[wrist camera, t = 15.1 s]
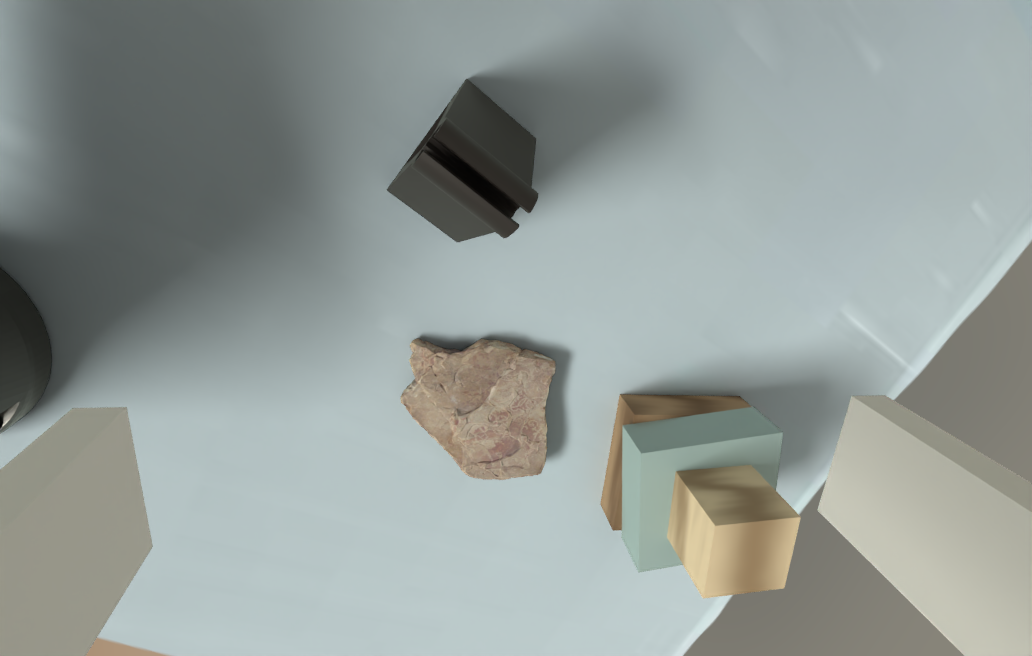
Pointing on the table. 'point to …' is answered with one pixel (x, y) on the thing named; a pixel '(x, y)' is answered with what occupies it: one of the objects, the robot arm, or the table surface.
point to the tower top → (678, 448)
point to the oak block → (731, 530)
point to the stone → (483, 405)
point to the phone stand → (470, 169)
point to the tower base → (645, 411)
